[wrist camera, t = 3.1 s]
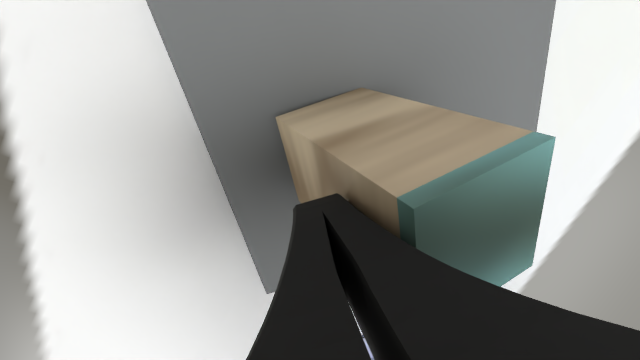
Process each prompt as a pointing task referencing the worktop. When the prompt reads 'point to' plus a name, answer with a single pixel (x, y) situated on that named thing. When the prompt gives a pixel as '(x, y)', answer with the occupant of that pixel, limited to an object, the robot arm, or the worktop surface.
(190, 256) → the worktop surface
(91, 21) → the worktop surface
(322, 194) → the block
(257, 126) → the mat
